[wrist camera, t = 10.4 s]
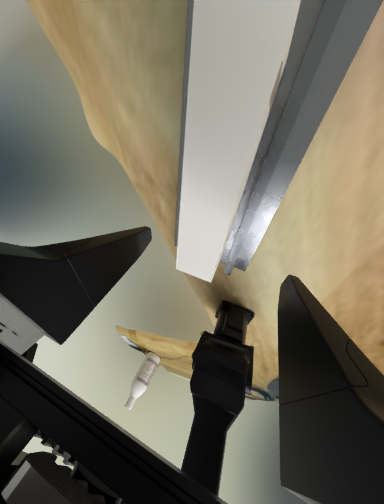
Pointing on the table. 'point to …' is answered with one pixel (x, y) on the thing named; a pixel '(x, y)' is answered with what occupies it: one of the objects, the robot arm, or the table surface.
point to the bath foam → (143, 378)
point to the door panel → (226, 116)
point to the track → (289, 112)
